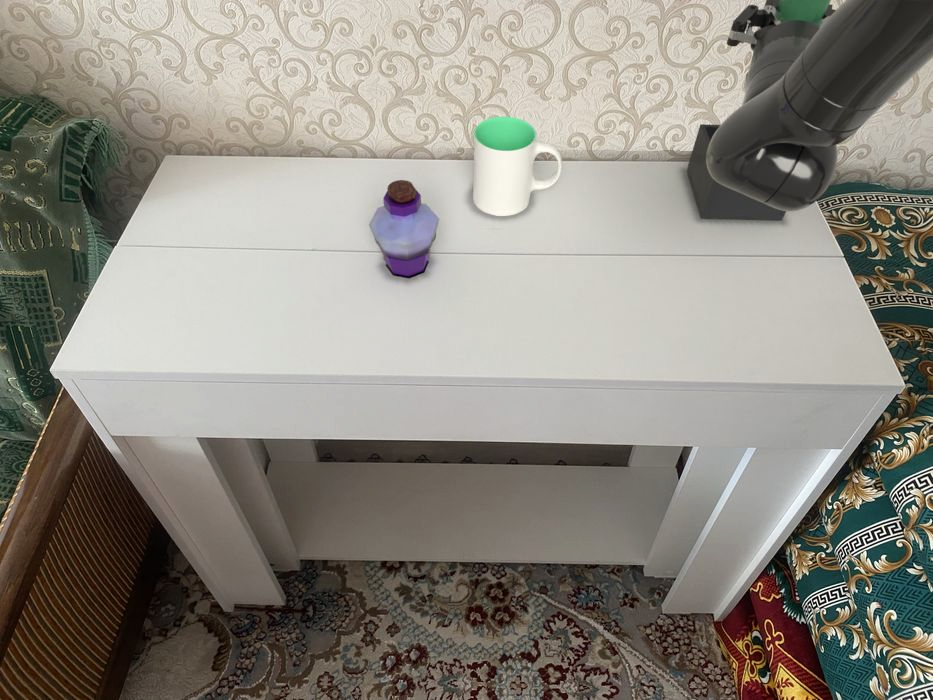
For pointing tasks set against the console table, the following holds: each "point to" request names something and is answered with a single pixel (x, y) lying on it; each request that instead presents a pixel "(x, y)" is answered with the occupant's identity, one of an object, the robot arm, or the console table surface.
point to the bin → (721, 189)
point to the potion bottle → (404, 230)
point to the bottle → (803, 9)
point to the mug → (507, 165)
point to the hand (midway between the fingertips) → (799, 8)
